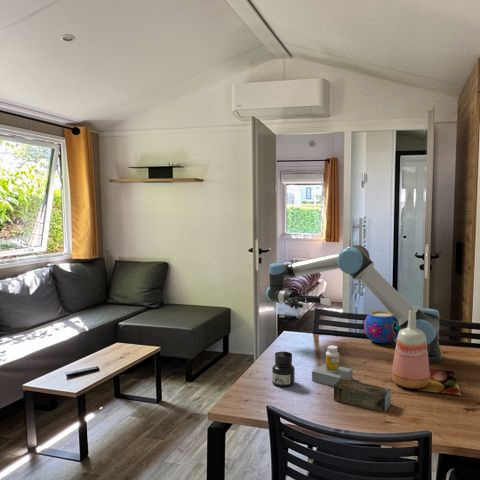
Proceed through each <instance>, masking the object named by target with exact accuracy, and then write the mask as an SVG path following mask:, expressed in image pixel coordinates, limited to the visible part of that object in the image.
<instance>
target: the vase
mask: <svg viewBox="0 0 480 480" xmlns="http://www.w3.org/2000/svg"><path fill="white" fill-rule="evenodd" d="M393 355H394V356H393V361H392V366H391V373H390V374H391V379H392V380H393V382H394V383H395V384H397V385H399V386H400V387H402V388H406V389H422V388H425V387H426V386H428V385H429V383H430V381H431V371H430V363H429V360H428V352H427V343H426V336H425V333H424V332H423V331H421V330H419V329H417V328H416V311H414V310H409V317H408V327H407V328H404V329H400V331H399V333H398V336H397V337H396V345H395V348H394V354H393Z"/></svg>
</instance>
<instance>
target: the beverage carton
mask: <svg viewBox="0 0 480 480" xmlns="http://www.w3.org/2000/svg"><path fill="white" fill-rule="evenodd" d="M391 393H392V389H391V388H388V387H383V386H379V385H375V384H369V383H365V382H361V381H355V380H352V379H351V380H347V379H342V378H341V379H340V380H339V381H338V382H337V383H336V384H335V385H334V386H333V401H336V402H340V403H345V404H350V405H353V406H357V407H362V408H366V409H372V410H376V411H380V412H387V410H388V408H389V407H390V405H391V403H392V402H391V400H392V394H391Z"/></svg>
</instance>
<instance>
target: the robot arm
mask: <svg viewBox="0 0 480 480" xmlns="http://www.w3.org/2000/svg"><path fill="white" fill-rule="evenodd" d="M374 265H375V263H374V261H372V260H371V259H370V253H369V251H368V249H367V248H366V247H365V246H363V245H359V244H356V245H351V246H347V247H345V248H343V249H341V250H340V251H339V252H337V253H332V254H327V255H324V256H319V257H314V258H309V259H305V260H301V261H296V262H292V263H286V264H285V263H282V262H281V263H280V262H277V263H275V262H274V263H273V262H272V263H271V264H269V269H268V270H269V272H268V273H269V276H268V277H269V286H268V287H267V288H266V290H265V298H266V299H267V300H268V301H270V302H273V303H277V304H281V305H284V306H289V307H290V308H292V309H294V310H298V309H301V310H305V311H310V304H309V303H312V304H313V303H314V304H321V305H324V306H328V307H332V299H329V298H325V296H323V295H321V296H319V295H316V296H315V295H308V294H305V295H302V294H300V293H299V292H298V291H296V290H292V289H288V288H285V283H286V282H285V281H287V280H289V279H294V278H297V277H298V278H299V277H302V276H308V275H314V274H319V273H323V272H327V271H333V270H338V269H340V270H341V271H342V272H343V273H344V274H347V275H349V276H350V277H351V278H352V279H353V280H354V281H360V282H361V284H363V285H364V286H365V288H366V289H368V291H369V292H370V293H371V294H372V295H373V296H374V297H375V298H376V299H377V301H379V302H380V303H381V304H382V305H383V306H384V308H386V310H387V311H388V312H390V313H392V314H393V316H394V317H395V318H396V319H397V320H398V322H399V327H400V330H402V329H404V328H407V327H408V317H409V310H414V311H416V328H417V329H419V330H421V331H423V332H424V333H425V336H426V343H427V352H428V360H429V364H437V363H440V362H442V361H443V353H442V350H441V346H440V342H439V338H440V337H439V335H440V333H439V332H440V318H441V316H440V312H439V310H437V309H433V308H423V307H413V306H412V305H411V303H409V302H408V300H406V298H404V296H403V295H401V294H400V293H399V292H398V291H397V290H396V289H395V287H393V286H392V285H391V284H390V283H389V281H387V280H386V278H385V277H383V276H382V275H381V273H379V271H378V270H377V269H376V268H375V266H374Z"/></svg>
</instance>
